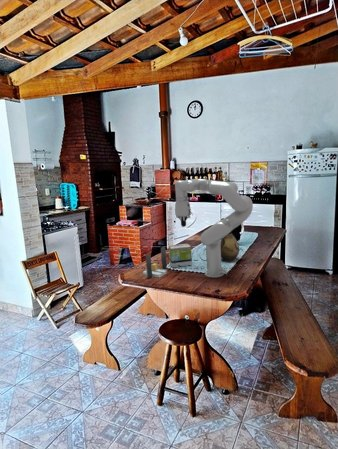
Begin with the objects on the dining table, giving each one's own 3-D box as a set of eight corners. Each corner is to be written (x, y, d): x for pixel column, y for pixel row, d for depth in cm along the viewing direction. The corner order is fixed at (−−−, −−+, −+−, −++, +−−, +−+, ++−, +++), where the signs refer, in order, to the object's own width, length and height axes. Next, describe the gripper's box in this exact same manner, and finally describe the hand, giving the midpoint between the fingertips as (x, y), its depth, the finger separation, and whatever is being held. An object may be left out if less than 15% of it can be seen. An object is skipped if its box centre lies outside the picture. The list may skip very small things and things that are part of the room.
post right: (167, 268, 220) (166, 247, 217) (165, 270, 218) (163, 248, 214) (164, 268, 222) (162, 247, 219) (161, 269, 219) (159, 248, 216)
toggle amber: (157, 269, 214) (157, 263, 213) (155, 270, 212) (154, 265, 211) (154, 268, 216) (153, 263, 215) (151, 270, 213) (151, 264, 212)
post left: (153, 277, 206) (151, 254, 203) (150, 278, 203) (148, 255, 200) (149, 276, 208) (147, 253, 205) (146, 278, 205) (144, 255, 202)
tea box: (172, 268, 220) (170, 248, 217) (169, 264, 230) (168, 245, 227) (192, 265, 223) (191, 246, 220) (188, 261, 233) (187, 242, 230)
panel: (167, 273, 212) (166, 268, 211) (159, 277, 204) (159, 273, 204) (151, 270, 220) (150, 266, 219) (143, 274, 212) (142, 270, 211)
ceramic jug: (239, 263, 221) (238, 222, 215) (218, 263, 224) (216, 223, 218) (239, 255, 237) (238, 217, 231) (219, 256, 240) (217, 218, 234)
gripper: (194, 198, 201) (196, 225, 205) (175, 198, 210) (177, 224, 213) (188, 200, 195) (190, 228, 199) (169, 200, 203) (171, 227, 207)
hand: (183, 226), depth 206 cm, fingers closed
